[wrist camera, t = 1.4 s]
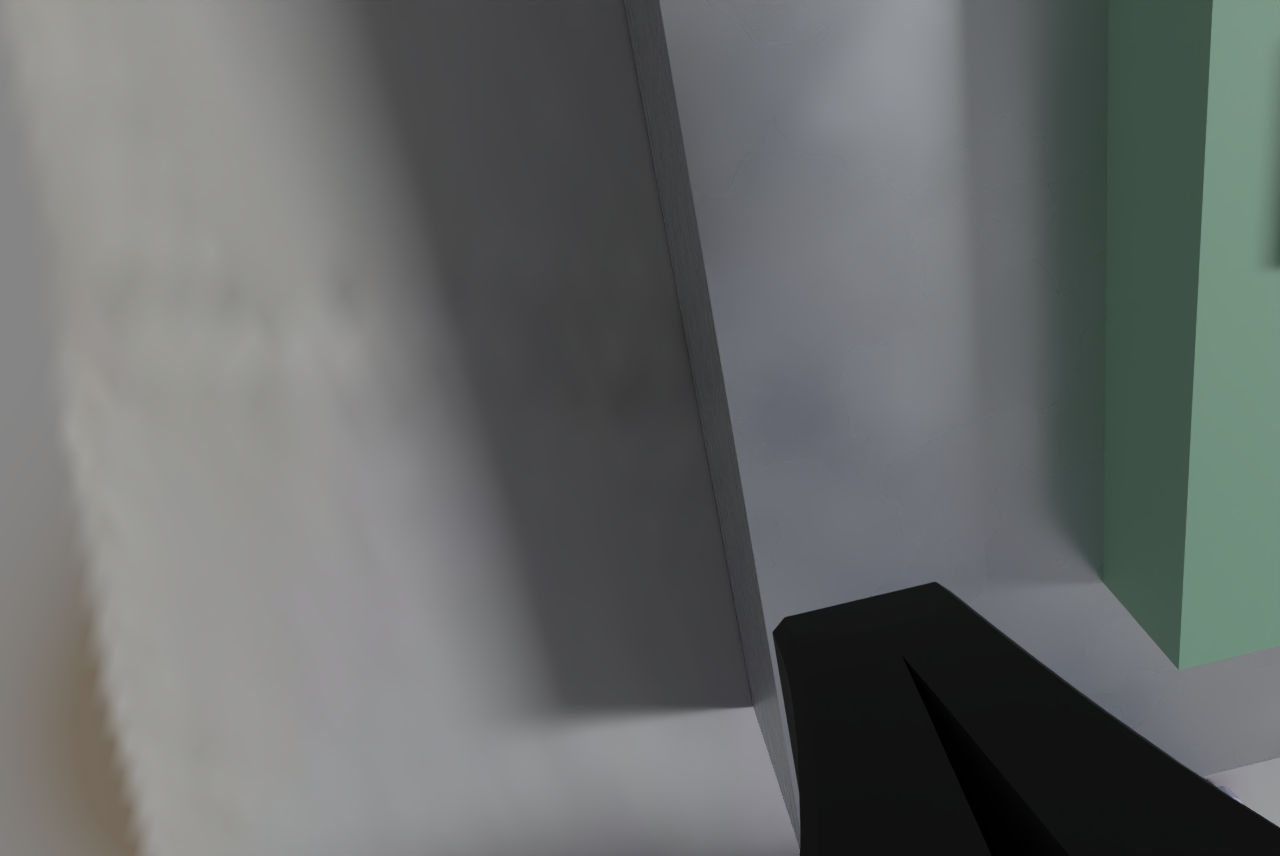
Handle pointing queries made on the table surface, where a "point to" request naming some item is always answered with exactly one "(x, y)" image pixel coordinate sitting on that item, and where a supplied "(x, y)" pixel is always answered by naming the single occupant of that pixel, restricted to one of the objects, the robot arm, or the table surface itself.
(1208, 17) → the thick sage green slab
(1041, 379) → the deck
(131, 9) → the table surface
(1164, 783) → the robot arm
